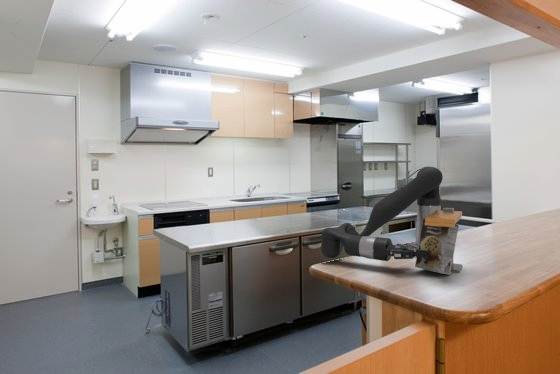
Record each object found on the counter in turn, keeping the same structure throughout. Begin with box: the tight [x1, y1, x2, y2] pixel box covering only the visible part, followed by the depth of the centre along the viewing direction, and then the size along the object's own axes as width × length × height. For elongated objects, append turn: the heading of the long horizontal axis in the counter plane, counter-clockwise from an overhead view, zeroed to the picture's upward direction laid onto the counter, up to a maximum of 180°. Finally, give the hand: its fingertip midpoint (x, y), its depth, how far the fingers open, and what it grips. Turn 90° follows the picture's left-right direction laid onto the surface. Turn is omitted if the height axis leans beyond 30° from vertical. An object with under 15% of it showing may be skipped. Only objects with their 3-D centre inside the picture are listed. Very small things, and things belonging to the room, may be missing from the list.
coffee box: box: [414, 218, 459, 276], centre depth 120 cm, size 9×6×16 cm
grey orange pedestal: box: [425, 207, 463, 274], centre depth 119 cm, size 8×22×20 cm, turn 148°
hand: (429, 254), depth 117 cm, fingers closed
